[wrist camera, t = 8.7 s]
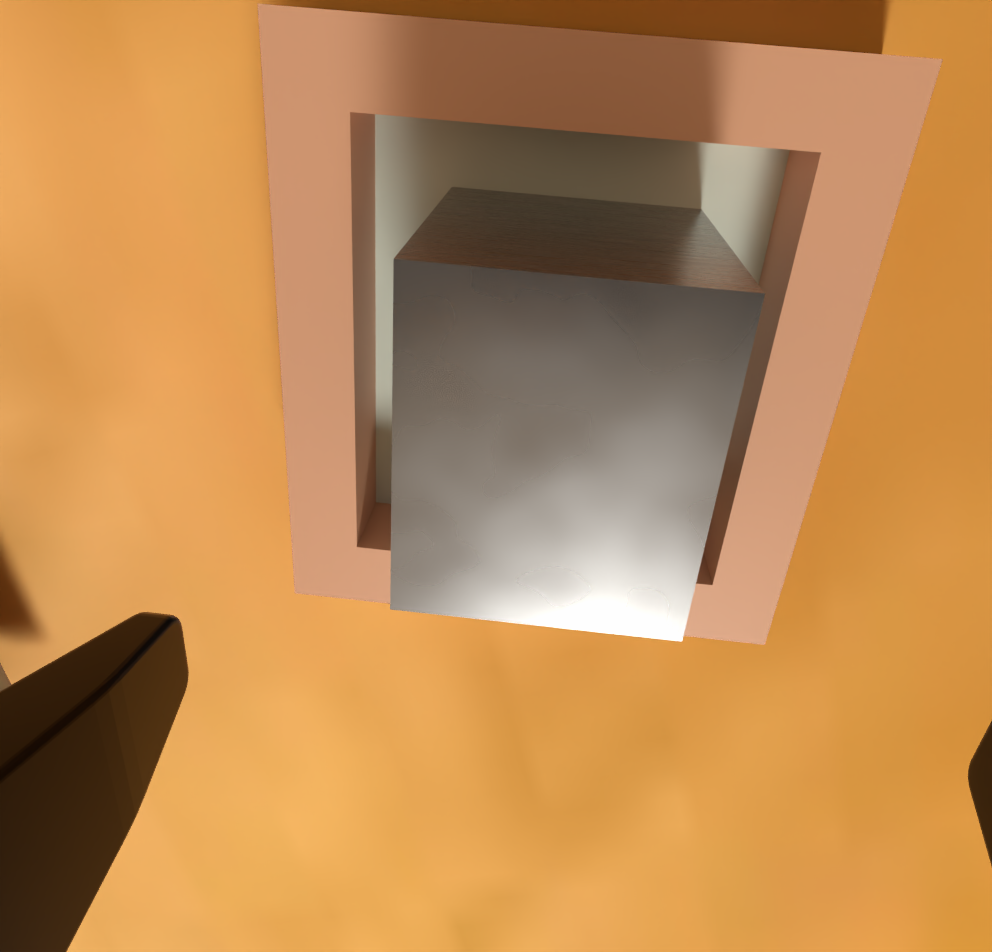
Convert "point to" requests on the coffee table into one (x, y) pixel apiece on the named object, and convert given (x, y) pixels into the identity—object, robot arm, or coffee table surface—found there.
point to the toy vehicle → (3, 679)
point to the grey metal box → (562, 408)
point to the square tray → (577, 174)
